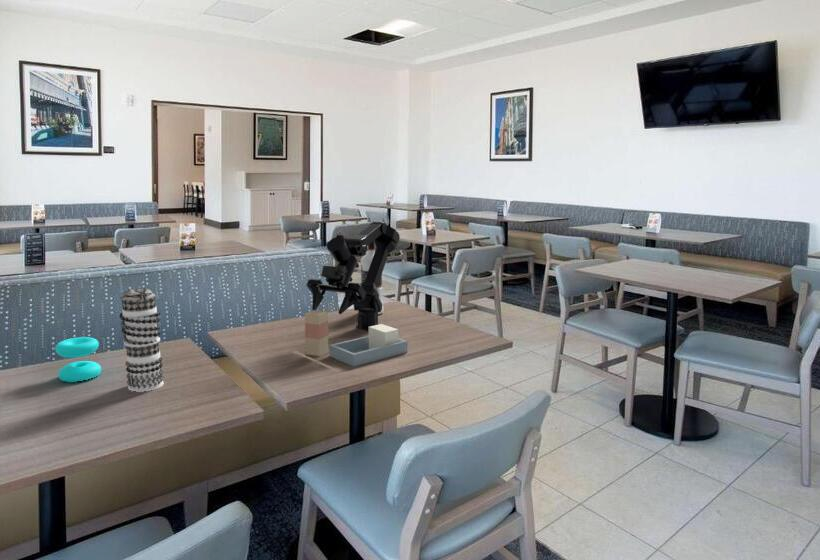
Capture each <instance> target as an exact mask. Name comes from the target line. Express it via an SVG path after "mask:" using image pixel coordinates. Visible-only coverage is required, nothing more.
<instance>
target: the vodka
mask: <svg viewBox="0 0 820 560" xmlns="http://www.w3.org/2000/svg"><path fill="white" fill-rule="evenodd" d="M367 248H368V250H367V252H366V253H365V254H364V255H363V256H361V259H360V261H359V262H360V283H363V282H364V281H365V278H366V275H367V273H368V270H369V267H370V264H371V262H372V259H373V256H374V253H375V250H376V245H375V242H374V241H373V242H371V243H370V244H369V245H368V246H367ZM382 286H383V274H382V275H381V278H380V280H379V283H378V286H377V289H378V293H379V299H380V301H381V303H382V310H381V312H378V316H379V315H381V314H383V313H384V310H385V309H384V304H383V287H382Z"/></svg>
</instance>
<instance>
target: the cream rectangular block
mask: <svg viewBox="0 0 820 560" xmlns="http://www.w3.org/2000/svg"><path fill="white" fill-rule="evenodd" d="M368 336H369V349H373V348H377V347H381V346H385V345H389V344H393V343H397V342H398V338H399V329H398V328H395V327H392V326H389V325H385V324H383V323H380V324H379V323H378V325H375V326H370V327H369V330H368Z"/></svg>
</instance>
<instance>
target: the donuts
mask: <svg viewBox="0 0 820 560" xmlns="http://www.w3.org/2000/svg"><path fill="white" fill-rule="evenodd" d="M99 346H100V342H99V341H98V340H97V339H96V338H94V337H90V336H79V337H72V338H67V339H65V340H61V341H59V342H58V343H57V344H56V345H55V347H54V349H55V352H56V354H57V355H58V356H61V357H63V358H80V357H86V356H89V355H92V354H93V353H94V352H96V351H97V349H98V348H99ZM101 373H102V366H101V365H100V364H99V363H98V362H95V361H91V360H81V361H80V360H79V361H73V362H70V363H68V364H66V365H64V366H62V367H61V368H60V369H59V371H58V374H57V375H58V379H59V380H60V381H62V382H65V381H66V383H78V382H77V381H82V382H84V381H83V380H86V381H89V380H88V379H90V380H92V379H91V378H93V379H95V378H96V376H97V377H98V376H99V375H100V374H101ZM94 377H95V378H94Z"/></svg>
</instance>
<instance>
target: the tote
mask: <svg viewBox="0 0 820 560" xmlns="http://www.w3.org/2000/svg"><path fill="white" fill-rule="evenodd" d="M328 351H329V352H328V353H329V357H331V358H333V359H335V360H337V361H340V362H342V363H344V364H347V365H348V366H351V367H358V366H361V365H365V364H369V363H372V362H375V361H376V362H377V361H379V360H383V359H387V358H388V359H389V358H391V357H394V356H398V355H402V354H405V353H408V340H406V339H405V340H404V339H403V338H399V337H398V342H397V343H393V344H389V345H385V346H381V347H377V348H373V349H369V335H367V336H363V337H362V336H361V337H358V338H354V339H350V340H345V341H340V342H336V343H332V344H328Z"/></svg>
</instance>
